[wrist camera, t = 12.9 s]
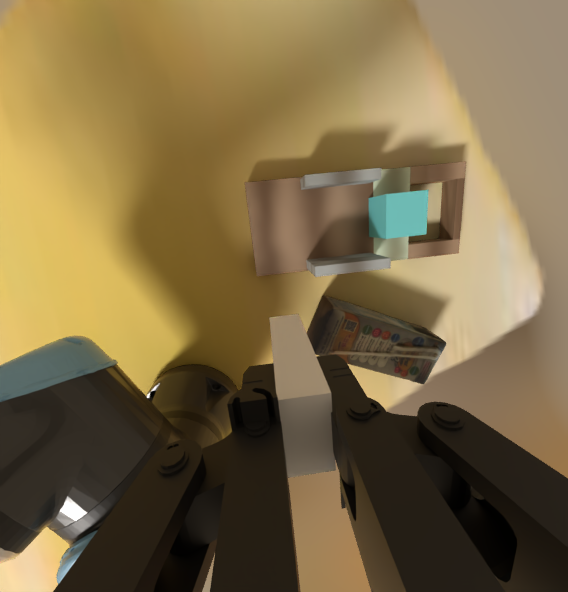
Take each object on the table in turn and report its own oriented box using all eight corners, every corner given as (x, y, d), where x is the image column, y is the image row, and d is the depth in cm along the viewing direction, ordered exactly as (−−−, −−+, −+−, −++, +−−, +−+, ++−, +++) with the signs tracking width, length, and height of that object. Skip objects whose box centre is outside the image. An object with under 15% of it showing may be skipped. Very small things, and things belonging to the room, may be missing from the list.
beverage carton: (404, 367, 46) (427, 390, 40) (302, 337, 43) (309, 357, 37) (425, 326, 44) (452, 343, 38) (320, 292, 41) (330, 304, 35)
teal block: (369, 236, 36) (386, 238, 31) (368, 198, 35) (386, 194, 30) (404, 232, 37) (426, 234, 32) (405, 194, 35) (428, 189, 30)
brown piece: (257, 272, 39) (256, 286, 31) (245, 185, 36) (241, 173, 27) (444, 251, 41) (494, 258, 32) (450, 166, 38) (506, 149, 29)
